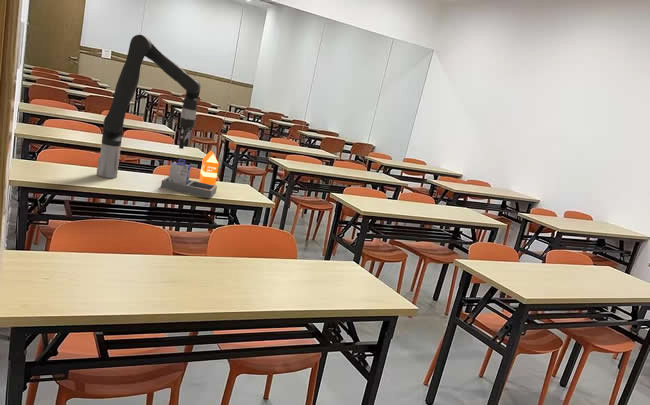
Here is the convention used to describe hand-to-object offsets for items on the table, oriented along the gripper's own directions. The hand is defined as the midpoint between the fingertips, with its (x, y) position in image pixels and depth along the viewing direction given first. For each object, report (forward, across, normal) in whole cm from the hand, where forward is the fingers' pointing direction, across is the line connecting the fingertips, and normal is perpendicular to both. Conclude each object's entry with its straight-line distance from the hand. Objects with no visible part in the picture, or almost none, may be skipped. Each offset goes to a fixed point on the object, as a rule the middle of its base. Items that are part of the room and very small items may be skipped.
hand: (183, 147), depth 261 cm
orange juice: (+23, -20, +12) cm, 32 cm away
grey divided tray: (+22, 0, +7) cm, 23 cm away
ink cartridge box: (+22, 0, 0) cm, 22 cm away
